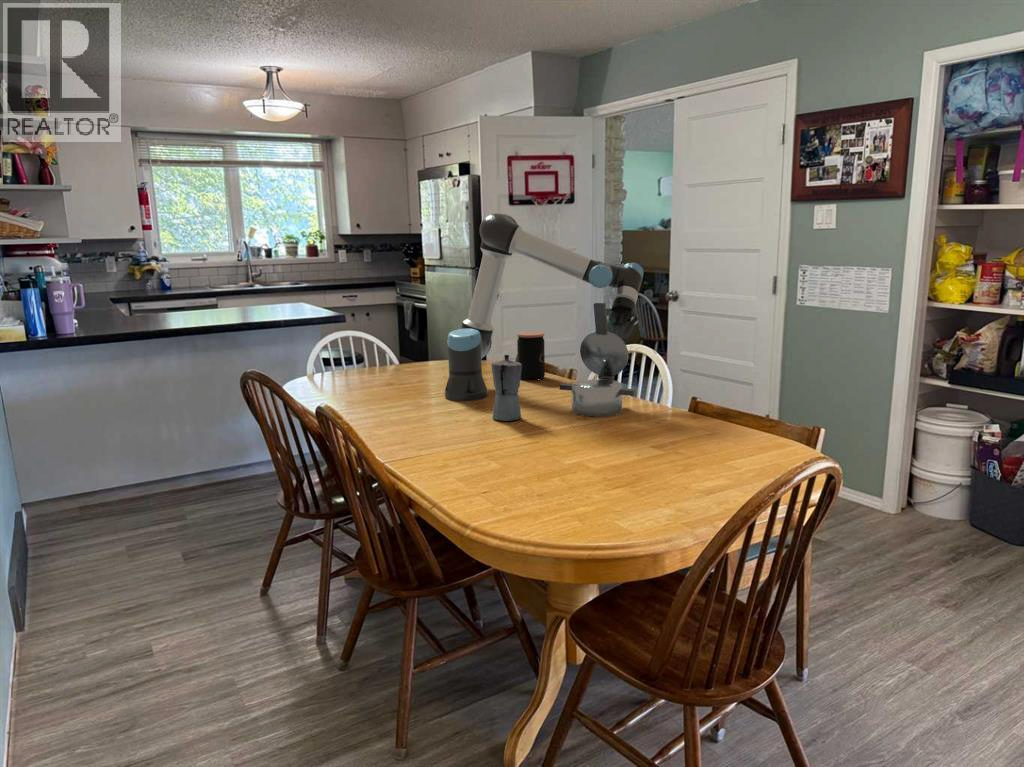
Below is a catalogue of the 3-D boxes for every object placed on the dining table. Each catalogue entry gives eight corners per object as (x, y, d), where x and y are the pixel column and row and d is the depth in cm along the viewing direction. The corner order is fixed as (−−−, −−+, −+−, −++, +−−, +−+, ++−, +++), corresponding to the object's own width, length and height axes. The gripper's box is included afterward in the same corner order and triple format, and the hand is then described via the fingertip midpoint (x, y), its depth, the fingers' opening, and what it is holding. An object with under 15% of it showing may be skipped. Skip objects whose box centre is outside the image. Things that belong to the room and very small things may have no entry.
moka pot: (524, 412, 222) (523, 351, 218) (520, 425, 207) (519, 359, 203) (495, 412, 223) (493, 351, 219) (489, 425, 208) (487, 360, 204)
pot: (551, 412, 222) (550, 386, 220) (572, 400, 237) (572, 375, 236) (626, 420, 210) (626, 393, 208) (644, 407, 226) (644, 381, 224)
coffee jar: (545, 380, 270) (544, 335, 267) (517, 381, 271) (516, 335, 267) (544, 375, 281) (543, 331, 277) (518, 375, 281) (517, 331, 277)
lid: (574, 304, 221) (577, 302, 222) (582, 378, 232) (584, 376, 233) (623, 305, 213) (625, 303, 215) (628, 382, 224) (630, 379, 226)
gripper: (645, 309, 238) (631, 367, 227) (608, 309, 243) (592, 364, 232) (641, 296, 232) (626, 353, 221) (603, 295, 237) (587, 351, 227)
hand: (609, 359), depth 227 cm, fingers closed
